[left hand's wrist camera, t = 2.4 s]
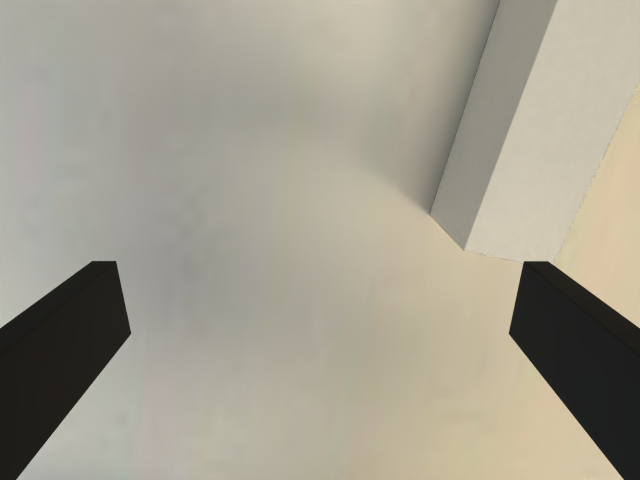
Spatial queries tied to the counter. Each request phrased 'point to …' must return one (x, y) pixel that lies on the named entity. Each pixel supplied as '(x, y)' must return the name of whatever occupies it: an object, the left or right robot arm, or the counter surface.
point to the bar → (538, 124)
